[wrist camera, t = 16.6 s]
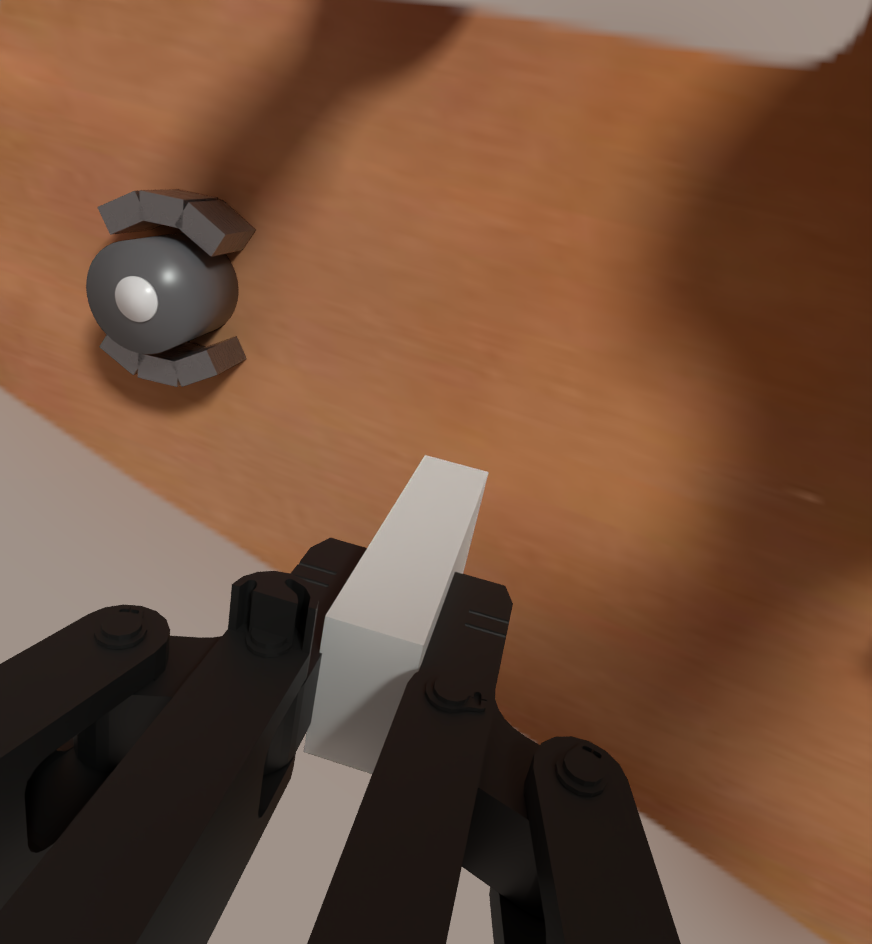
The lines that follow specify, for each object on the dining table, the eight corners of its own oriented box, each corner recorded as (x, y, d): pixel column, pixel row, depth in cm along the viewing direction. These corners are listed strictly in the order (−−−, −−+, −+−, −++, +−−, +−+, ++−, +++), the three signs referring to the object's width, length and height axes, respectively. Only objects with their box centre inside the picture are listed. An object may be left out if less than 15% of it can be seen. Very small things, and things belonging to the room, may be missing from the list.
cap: (147, 223, 43) (82, 230, 37) (241, 243, 42) (190, 253, 37) (146, 321, 45) (85, 342, 40) (235, 341, 45) (186, 365, 39)
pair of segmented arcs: (138, 181, 42) (97, 181, 38) (257, 206, 41) (227, 208, 38) (137, 353, 46) (99, 368, 43) (245, 378, 46) (216, 396, 42)
